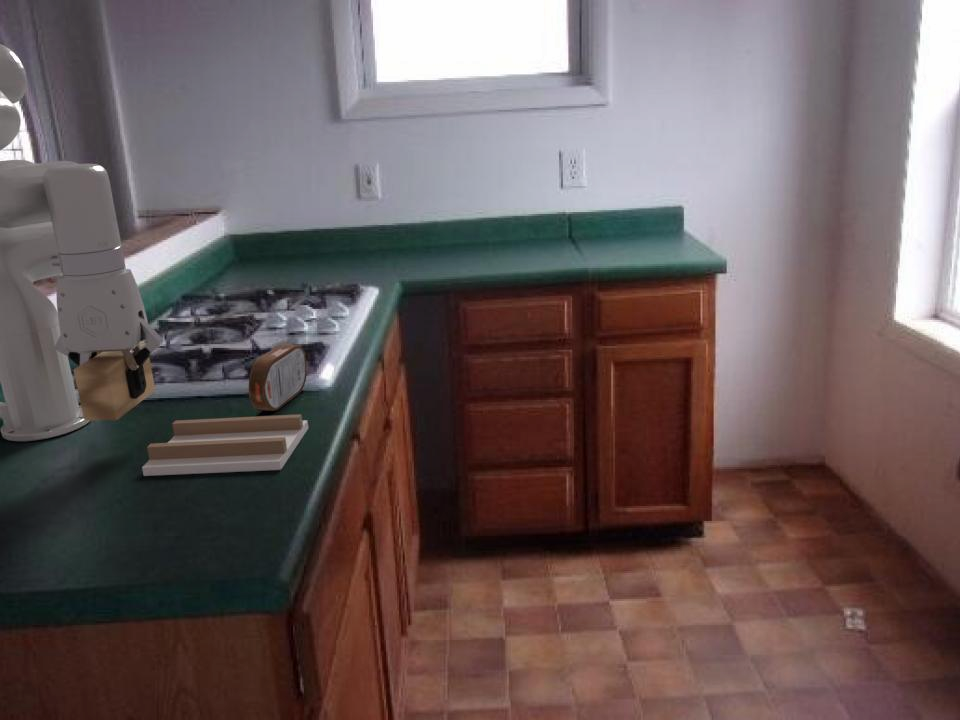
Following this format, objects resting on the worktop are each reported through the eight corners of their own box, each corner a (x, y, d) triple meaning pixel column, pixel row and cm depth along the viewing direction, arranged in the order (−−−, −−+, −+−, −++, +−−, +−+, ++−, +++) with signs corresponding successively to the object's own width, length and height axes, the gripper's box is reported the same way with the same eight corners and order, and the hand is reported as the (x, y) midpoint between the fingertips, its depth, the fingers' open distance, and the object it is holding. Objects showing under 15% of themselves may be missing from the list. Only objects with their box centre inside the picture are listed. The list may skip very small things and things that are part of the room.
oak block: (84, 420, 112) (73, 369, 110) (125, 391, 122) (116, 343, 120) (117, 419, 111) (106, 368, 109) (155, 390, 122) (146, 343, 120)
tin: (295, 385, 142) (288, 336, 139) (313, 386, 141) (306, 336, 138) (251, 419, 128) (242, 365, 125) (270, 420, 127) (261, 365, 125)
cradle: (143, 475, 110) (139, 454, 110) (185, 434, 124) (182, 414, 123) (280, 469, 109) (277, 447, 108) (308, 428, 122) (305, 408, 121)
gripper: (13, 272, 108) (44, 408, 113) (144, 266, 107) (169, 403, 112) (45, 260, 115) (73, 388, 121) (168, 254, 114) (190, 384, 119)
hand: (119, 394), depth 116 cm, fingers closed on oak block, 4 cm apart
